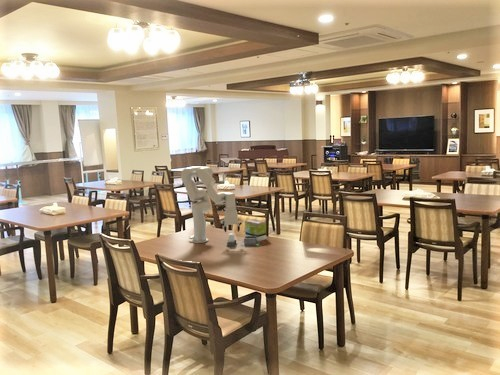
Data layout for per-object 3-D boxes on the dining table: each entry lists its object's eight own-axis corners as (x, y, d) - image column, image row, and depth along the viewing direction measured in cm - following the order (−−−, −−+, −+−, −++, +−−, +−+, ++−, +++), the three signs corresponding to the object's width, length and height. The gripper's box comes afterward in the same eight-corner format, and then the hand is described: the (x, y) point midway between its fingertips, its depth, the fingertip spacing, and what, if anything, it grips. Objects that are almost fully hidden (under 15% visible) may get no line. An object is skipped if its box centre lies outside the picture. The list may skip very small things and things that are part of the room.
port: (240, 246, 331) (240, 239, 331) (242, 242, 343) (241, 235, 342) (259, 246, 330) (258, 239, 329) (260, 242, 342) (259, 235, 341)
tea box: (244, 238, 356) (244, 220, 354) (254, 236, 363) (253, 218, 361) (257, 241, 345) (257, 223, 343) (266, 239, 352) (266, 221, 350)
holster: (225, 247, 331) (225, 242, 330) (227, 244, 340) (227, 239, 339) (236, 247, 330) (236, 242, 330) (237, 244, 339) (237, 239, 338)
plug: (228, 245, 333) (228, 234, 332) (229, 244, 337) (229, 233, 336) (234, 245, 333) (233, 234, 331) (234, 244, 337) (234, 233, 335)
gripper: (218, 210, 328) (220, 233, 330) (241, 209, 327) (243, 232, 329) (220, 208, 336) (221, 230, 337) (242, 207, 334) (243, 230, 336)
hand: (232, 231), depth 333 cm, fingers open, 9 cm apart
